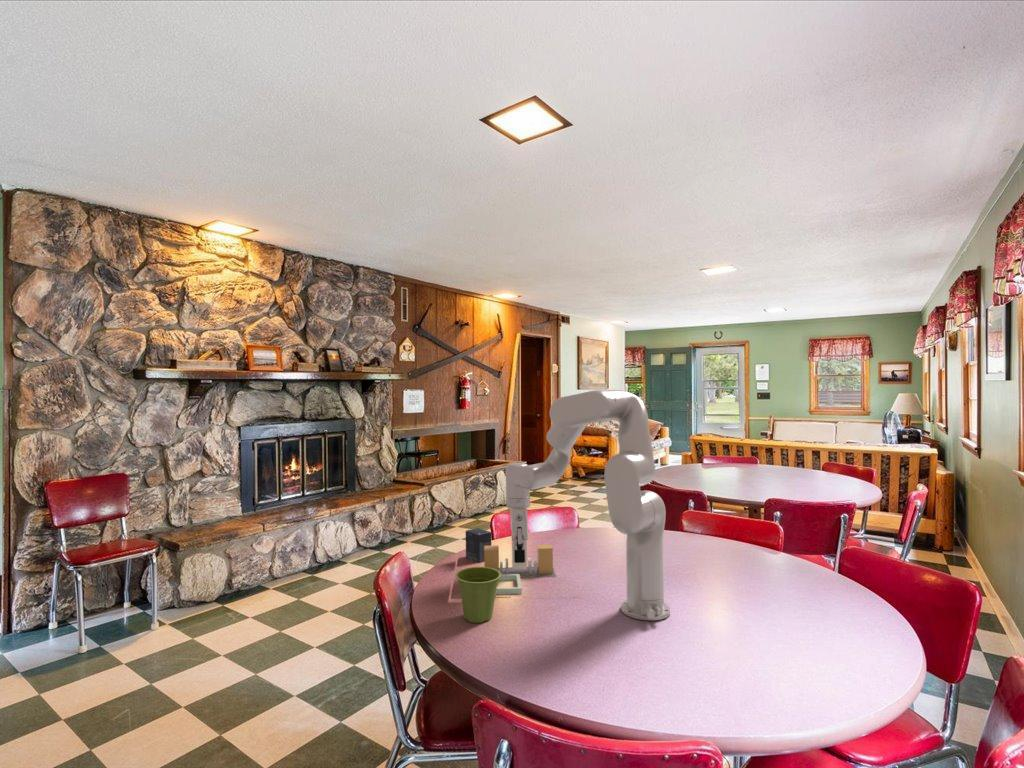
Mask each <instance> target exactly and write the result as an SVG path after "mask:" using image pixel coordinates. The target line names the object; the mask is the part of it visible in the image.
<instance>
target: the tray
mask: <svg viewBox="0 0 1024 768" xmlns="http://www.w3.org/2000/svg"><path fill="white" fill-rule="evenodd" d="M499 581H501V582H502V581H504V582H505V581H516V586H513V587H512V586H511V587H510V586H509V587H508V586H507V587H497V589H496V595H522V594H523V588H522V583H521V582H522V581H521V578H520V574H501V577H500V578H499ZM499 581H498V582H499ZM499 598H500V599H503V598H507V599H508V598H510V596H495V599H499Z"/></svg>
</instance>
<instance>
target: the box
mask: <svg viewBox="0 0 1024 768" xmlns="http://www.w3.org/2000/svg"><path fill="white" fill-rule="evenodd" d="M484 546H492V532H491V531H489V530H485V529H483V528H478V527H477V528H471V529H466V530H465V558H466V559H468V560H470V561H473V562H475V563H477V564H480V563H484Z"/></svg>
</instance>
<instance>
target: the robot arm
mask: <svg viewBox="0 0 1024 768" xmlns="http://www.w3.org/2000/svg"><path fill="white" fill-rule="evenodd" d="M549 418H550V421H551V422H552V423H553V424H552V425H551V426H550V429H549V430H548V431H547V433H546V441H547V442H548V444H549V445H550V446H551V447H552V450H551V452H550V454H549V455H548V457H547V458H546V460H545V461H544V462H539V463H534V464H527V463H525V462H511V463H508V464H507V465H506V466H505V494H506V495H505V498H506V500H505V503H506V506H505V507H506V508H507V509H509V510H510V515H509V516H510V528H511V529H510V531H511V534H512V536H511V538H512V537H513V540H515V550H514V554H515V563H524V562H525V549H524V539H526V541H528V540H529V527H528V526H529V525H528V523H529V519H528V517H529V516H528V509H529V508H530V507H531V501H530V500H531V499H530V498H531V495H530V492H531V491H534V490H538V489H541V488H542V489H543V488H546V487H551V486H553V485H555V484H556V483H558V481H559V480H560V479H561V478H562V476H563V474H565V472H566V470H567V469H568V467H569V465H570V462H571V456H572V451H571V450H572V449H573V447H574V445H575V443H577V440H578V439H579V437H580V436H581V435H582V433H583V431H584V430H585V429H586V427H587V425H588V424H594V423H603V422H612V421H617V422H618V423H619V426H618V430H617V434H618V435H617V439H618V441H617V442H618V445H619V446H618V447H619V448H618V449H619V453H616V454H614V455H612V456H611V457H610V458H609V459H608V461H607V462H606V464H605V467H604V474H603V475H604V476H603V478H604V479H603V480H604V486H605V493H606V501H607V502H606V503H607V506H608V507H607V509H608V514H609V520H610V521H611V524H612V526H613V527H614V528H615V529H616V530H617V532H620V533H621V534H623V535H626V542H625V543H626V544H625V547H626V550H625V553H626V554H625V555H626V557H625V558H626V559H625V561H626V566H625V567H626V569H625V570H626V599H625V600H624V601H622V602H621V604H620V609H621V612H622V613H623V614H624V615H626V616H627V617H630V618H631V619H635V620H640V621H650V622H651V621H661V620H664V619H666V618H668V617H669V616H670V615H671V608H670V606H669V605H668V604H667V603H665V595H664V591H665V585H664V532H665V526H666V525H665V524H666V517H667V516H666V515H667V512H666V505H665V503H664V500H663V499H662V497H661V496H660V495H659V494H658V493H656V492H654V491H651V490H646V489H644V490H641V487H643V486H646V485H648V484H649V483H651V482H652V481H653V480H654V479H655V476H656V466H655V465H656V463H655V459H654V451H653V446H652V438H651V434H650V423H649V415H648V410H647V407H646V406H645V404H644V402H643V400H642V399H641V398H640V397H639V396H638V395H636V394H634V393H632V392H629V391H626V390H619V389H606V390H605V389H600V390H599V389H598V390H596V389H595V390H590V391H583V392H580V393H575V394H571V395H565V396H561V397H558V398H557V399H555V400H554V401H553V402H552V404H551V406H550V408H549ZM516 538H518V540H516ZM517 542H518V543H517Z"/></svg>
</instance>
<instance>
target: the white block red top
mask: <svg viewBox="0 0 1024 768" xmlns="http://www.w3.org/2000/svg"><path fill="white" fill-rule="evenodd" d="M516 540H518V538H516ZM517 543H518V542H517ZM524 549H525V562H524V563H515V554H514V550H515V540H513V537H512V533H511V567H512V568H513V569H527V567H528V557H527V556H528V551H527V540H526V539H524Z"/></svg>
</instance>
